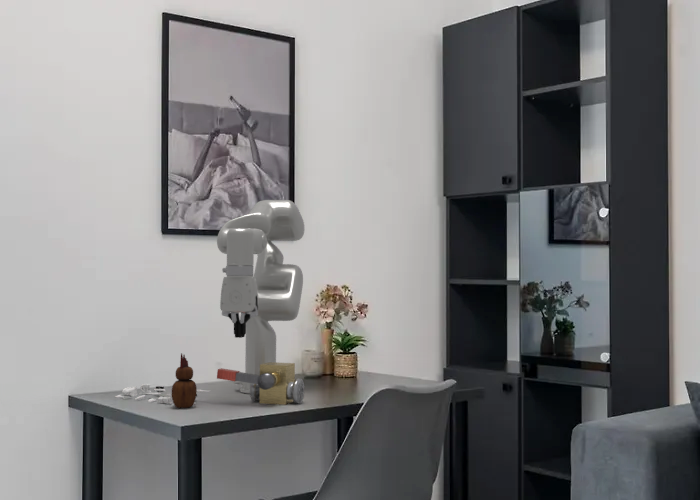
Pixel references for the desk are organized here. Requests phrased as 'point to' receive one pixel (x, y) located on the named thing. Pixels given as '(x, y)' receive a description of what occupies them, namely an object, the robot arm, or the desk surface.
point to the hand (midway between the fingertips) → (239, 337)
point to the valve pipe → (279, 385)
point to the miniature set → (146, 390)
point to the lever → (248, 378)
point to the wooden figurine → (184, 386)
